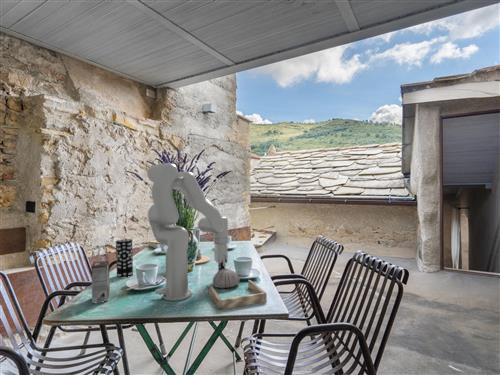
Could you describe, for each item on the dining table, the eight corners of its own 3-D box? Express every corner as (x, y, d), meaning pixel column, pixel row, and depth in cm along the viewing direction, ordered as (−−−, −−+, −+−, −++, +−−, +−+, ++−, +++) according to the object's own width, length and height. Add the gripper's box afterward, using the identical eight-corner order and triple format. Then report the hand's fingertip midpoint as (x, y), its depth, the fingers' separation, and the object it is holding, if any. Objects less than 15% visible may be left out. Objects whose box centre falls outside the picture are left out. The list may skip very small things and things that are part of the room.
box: (219, 309, 115) (219, 300, 115) (209, 293, 133) (208, 285, 133) (266, 301, 122) (266, 293, 122) (250, 287, 140) (250, 279, 140)
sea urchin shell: (207, 287, 141) (206, 271, 141) (222, 279, 153) (222, 264, 153) (230, 291, 135) (229, 274, 135) (244, 283, 147) (244, 267, 147)
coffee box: (94, 297, 132) (93, 261, 132) (110, 294, 135) (109, 260, 135) (91, 304, 124) (90, 266, 124) (108, 301, 126) (107, 264, 126)
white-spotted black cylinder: (132, 276, 162) (132, 241, 162) (116, 278, 158) (115, 242, 158) (133, 272, 169) (132, 238, 169) (117, 274, 166) (116, 239, 166)
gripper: (210, 238, 157) (211, 272, 157) (217, 243, 143) (218, 280, 143) (223, 237, 159) (224, 270, 160) (232, 242, 146) (233, 278, 146)
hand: (221, 275), depth 151 cm, fingers closed
